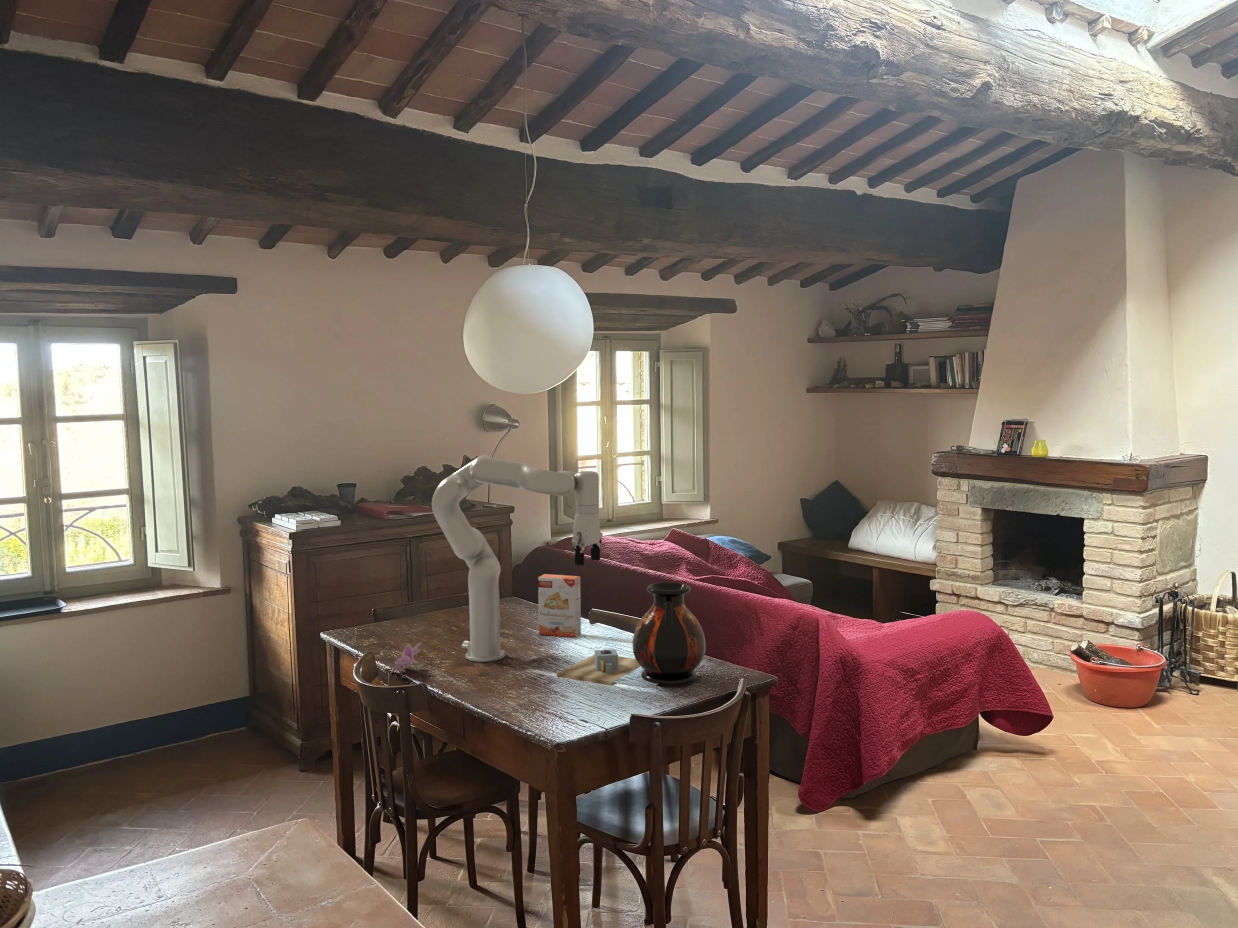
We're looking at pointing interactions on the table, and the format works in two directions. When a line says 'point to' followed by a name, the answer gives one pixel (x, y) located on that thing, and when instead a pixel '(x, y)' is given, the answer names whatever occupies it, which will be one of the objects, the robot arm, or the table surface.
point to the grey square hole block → (606, 660)
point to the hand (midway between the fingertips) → (587, 562)
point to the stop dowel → (602, 666)
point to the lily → (407, 657)
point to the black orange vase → (669, 638)
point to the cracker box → (559, 605)
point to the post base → (589, 673)
